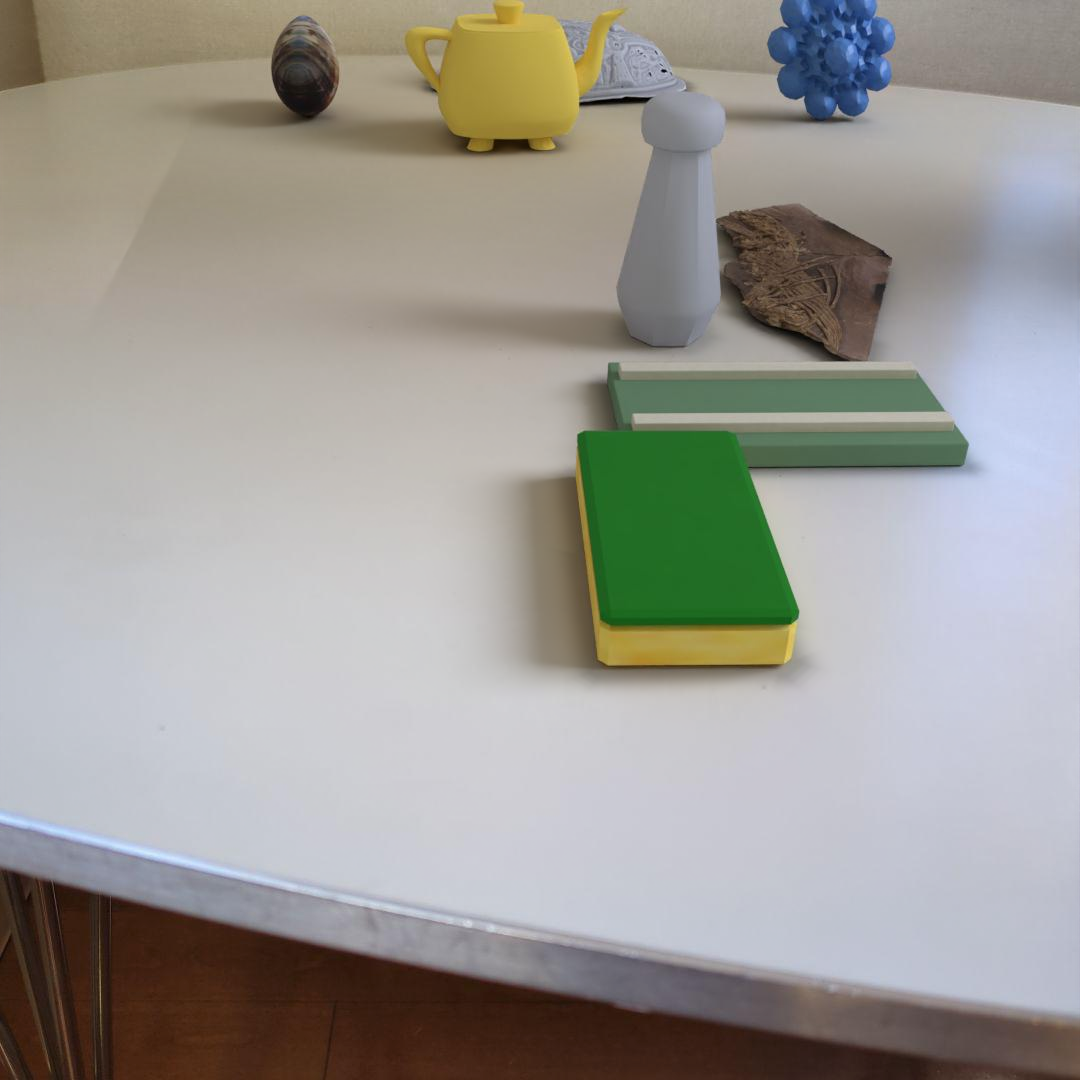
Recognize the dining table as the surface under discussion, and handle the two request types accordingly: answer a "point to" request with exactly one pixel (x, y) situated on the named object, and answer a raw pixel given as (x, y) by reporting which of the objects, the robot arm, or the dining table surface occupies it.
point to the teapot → (510, 74)
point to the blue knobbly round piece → (831, 54)
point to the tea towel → (794, 410)
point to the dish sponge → (680, 552)
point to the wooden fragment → (808, 276)
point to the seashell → (305, 67)
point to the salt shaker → (674, 224)
